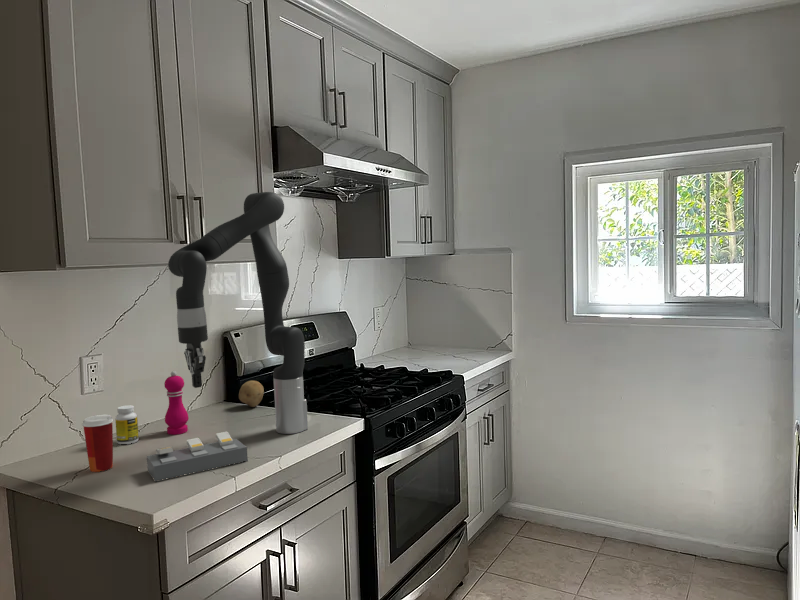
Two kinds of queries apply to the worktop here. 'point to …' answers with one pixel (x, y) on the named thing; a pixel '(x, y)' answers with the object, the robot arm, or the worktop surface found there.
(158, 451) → the rocker
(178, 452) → the rocker switch box
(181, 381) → the pepper mill
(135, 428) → the pill bottle
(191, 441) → the rocker middle
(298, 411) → the robot arm
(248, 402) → the brown potato
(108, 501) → the worktop surface
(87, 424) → the paper cup
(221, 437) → the rocker
